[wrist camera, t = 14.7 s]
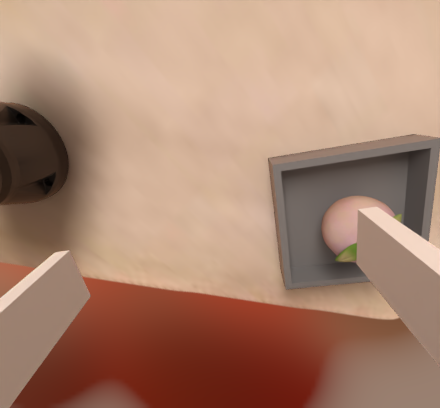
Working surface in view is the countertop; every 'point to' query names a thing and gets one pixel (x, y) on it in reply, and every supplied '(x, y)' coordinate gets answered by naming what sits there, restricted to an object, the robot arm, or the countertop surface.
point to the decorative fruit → (347, 225)
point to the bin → (344, 187)
